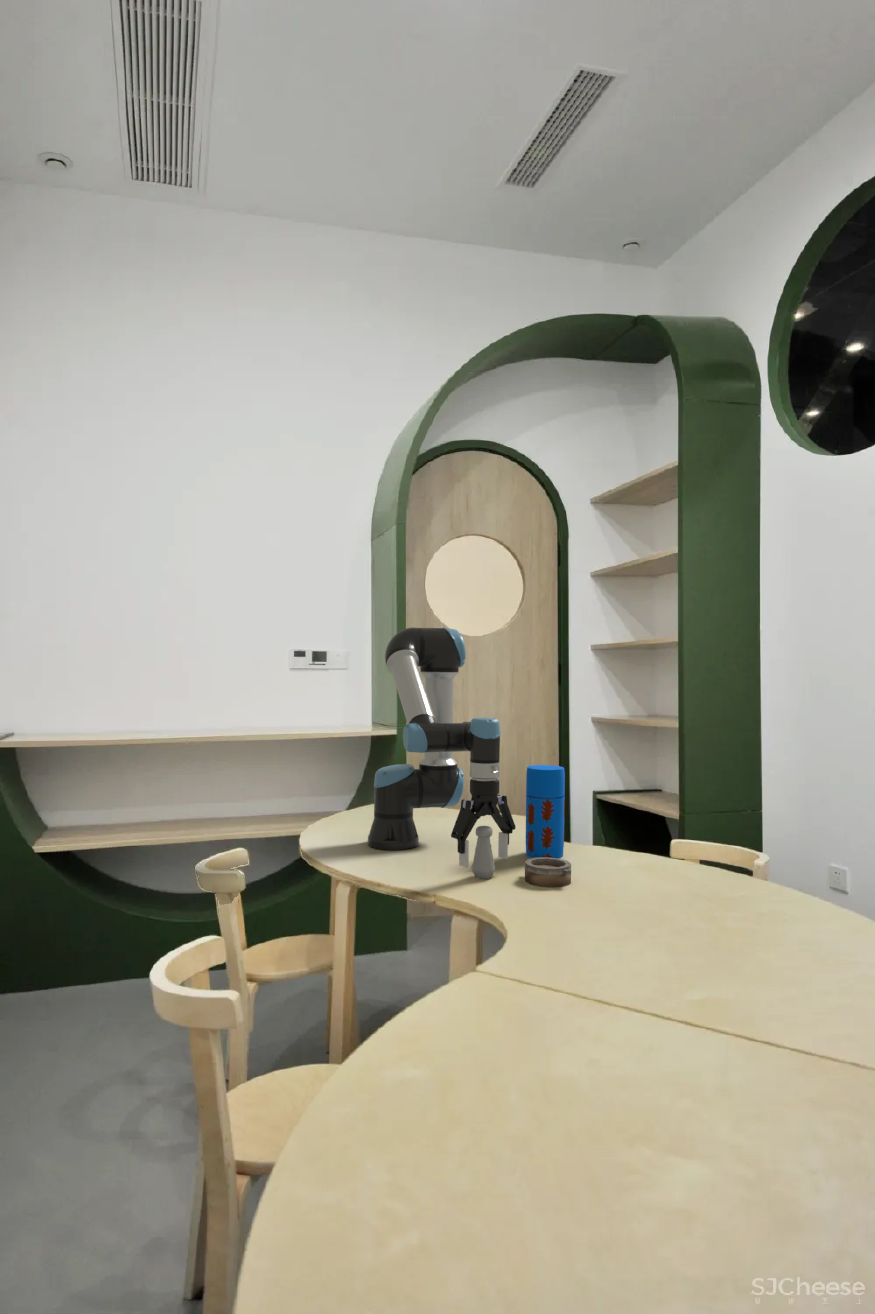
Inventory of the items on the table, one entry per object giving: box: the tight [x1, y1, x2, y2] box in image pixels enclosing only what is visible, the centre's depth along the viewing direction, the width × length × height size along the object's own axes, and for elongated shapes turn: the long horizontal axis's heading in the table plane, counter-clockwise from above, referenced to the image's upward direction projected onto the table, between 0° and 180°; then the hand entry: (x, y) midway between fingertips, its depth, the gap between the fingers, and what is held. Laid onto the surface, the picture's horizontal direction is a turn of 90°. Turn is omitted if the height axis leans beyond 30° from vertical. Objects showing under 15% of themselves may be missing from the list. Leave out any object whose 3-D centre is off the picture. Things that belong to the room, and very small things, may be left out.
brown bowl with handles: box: [524, 857, 572, 888], centre depth 208 cm, size 14×12×4 cm
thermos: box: [525, 764, 566, 859], centre depth 234 cm, size 11×11×25 cm
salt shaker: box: [471, 825, 496, 881], centre depth 210 cm, size 6×6×13 cm
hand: (483, 862), depth 210 cm, fingers open, 13 cm apart
